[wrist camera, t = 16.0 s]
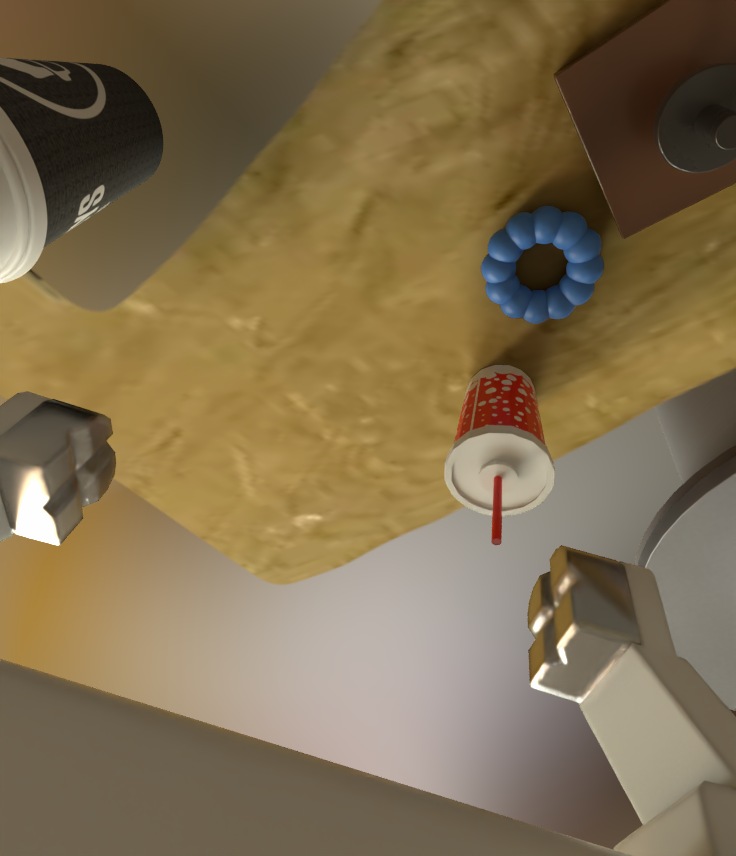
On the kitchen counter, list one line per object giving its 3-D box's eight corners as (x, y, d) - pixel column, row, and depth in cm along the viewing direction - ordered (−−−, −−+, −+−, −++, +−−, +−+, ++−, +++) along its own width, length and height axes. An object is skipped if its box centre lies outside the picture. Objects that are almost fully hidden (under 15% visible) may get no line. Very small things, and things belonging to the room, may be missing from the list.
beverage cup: (486, 442, 41) (477, 596, 30) (438, 381, 39) (410, 522, 28) (563, 406, 38) (585, 561, 27) (516, 337, 36) (519, 476, 25)
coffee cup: (16, 131, 35) (-237, 187, 23) (72, -15, 30) (-217, -39, 18) (144, 241, 38) (-25, 342, 26) (216, 124, 33) (46, 183, 21)
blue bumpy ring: (620, 282, 33) (625, 296, 31) (512, 332, 36) (512, 347, 35) (573, 177, 30) (577, 185, 29) (461, 241, 34) (459, 251, 32)
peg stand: (808, 137, 27) (906, 174, 21) (620, 233, 32) (649, 290, 25) (757, -63, 24) (855, -97, 17) (552, 74, 28) (566, 91, 21)
